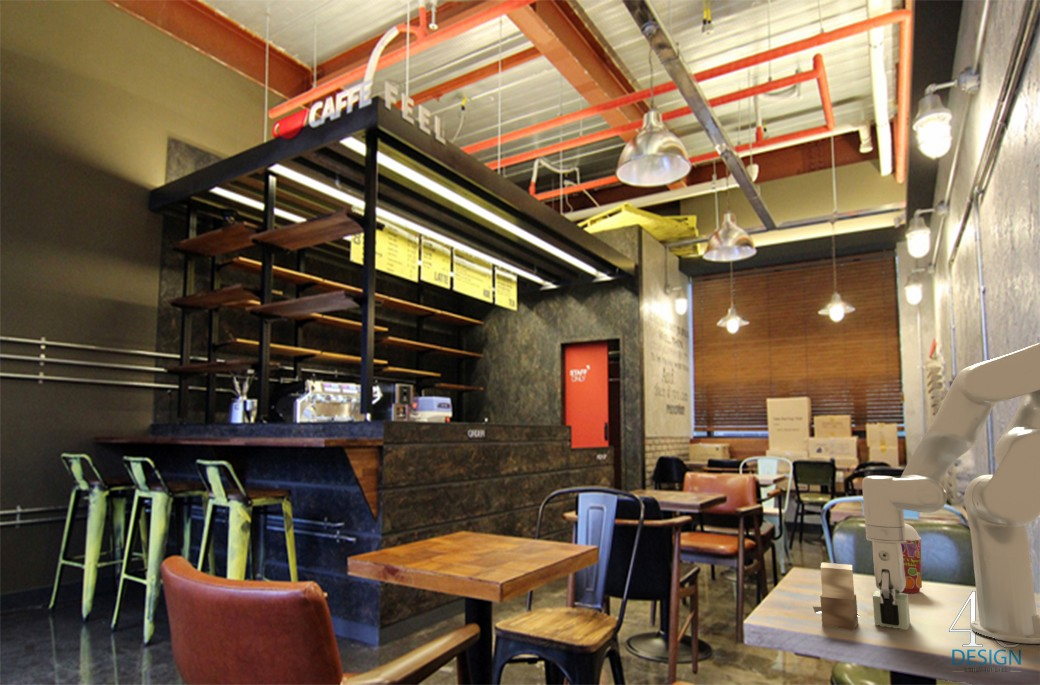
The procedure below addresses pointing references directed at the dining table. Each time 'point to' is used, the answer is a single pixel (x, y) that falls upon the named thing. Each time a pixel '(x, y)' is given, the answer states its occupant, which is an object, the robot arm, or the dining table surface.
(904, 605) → the sage block
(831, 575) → the tower top
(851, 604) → the tower base
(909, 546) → the smoothie
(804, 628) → the dining table surface
